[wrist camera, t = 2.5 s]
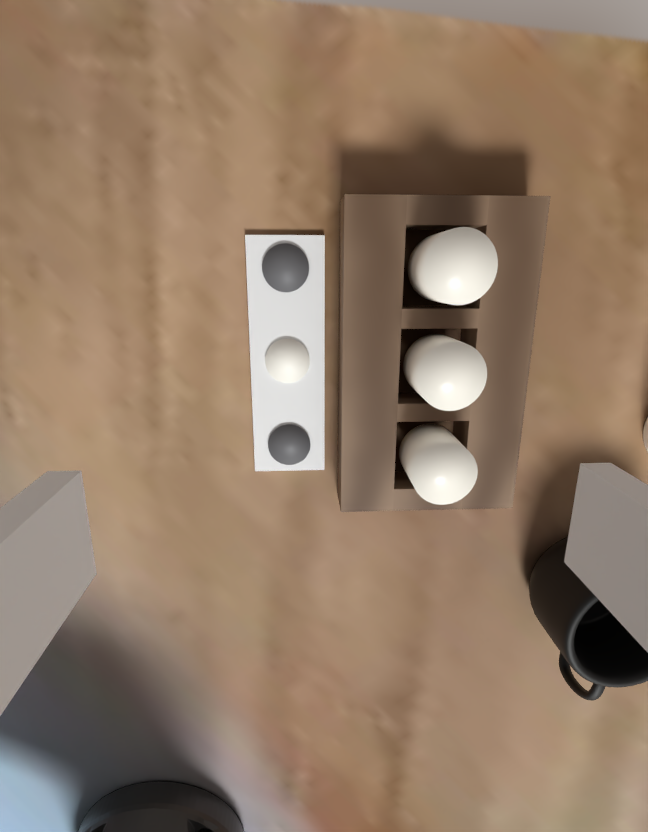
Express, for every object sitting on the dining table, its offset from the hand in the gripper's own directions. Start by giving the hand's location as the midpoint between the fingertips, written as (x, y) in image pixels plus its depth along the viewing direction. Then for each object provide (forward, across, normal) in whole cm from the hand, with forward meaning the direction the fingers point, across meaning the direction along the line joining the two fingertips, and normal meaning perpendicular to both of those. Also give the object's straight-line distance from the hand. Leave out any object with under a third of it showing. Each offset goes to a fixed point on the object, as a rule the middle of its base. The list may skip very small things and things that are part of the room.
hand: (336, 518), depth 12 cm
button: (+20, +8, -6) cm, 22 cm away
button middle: (+20, +8, 0) cm, 22 cm away
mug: (+23, +21, -19) cm, 36 cm away
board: (+22, +8, 0) cm, 24 cm away
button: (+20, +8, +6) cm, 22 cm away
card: (+22, -2, 0) cm, 22 cm away
